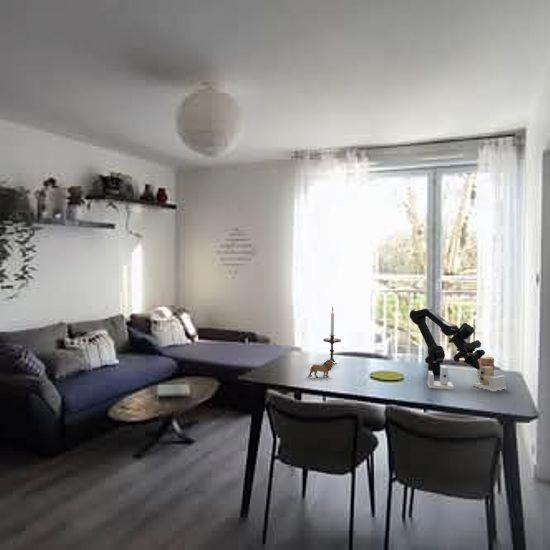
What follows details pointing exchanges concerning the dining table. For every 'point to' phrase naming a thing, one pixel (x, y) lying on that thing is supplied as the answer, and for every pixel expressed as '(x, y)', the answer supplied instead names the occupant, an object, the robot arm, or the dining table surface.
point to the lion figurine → (322, 368)
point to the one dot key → (443, 374)
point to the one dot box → (437, 383)
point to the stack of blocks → (486, 362)
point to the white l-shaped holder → (493, 383)
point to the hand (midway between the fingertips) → (479, 369)
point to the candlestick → (332, 336)
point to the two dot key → (485, 374)
